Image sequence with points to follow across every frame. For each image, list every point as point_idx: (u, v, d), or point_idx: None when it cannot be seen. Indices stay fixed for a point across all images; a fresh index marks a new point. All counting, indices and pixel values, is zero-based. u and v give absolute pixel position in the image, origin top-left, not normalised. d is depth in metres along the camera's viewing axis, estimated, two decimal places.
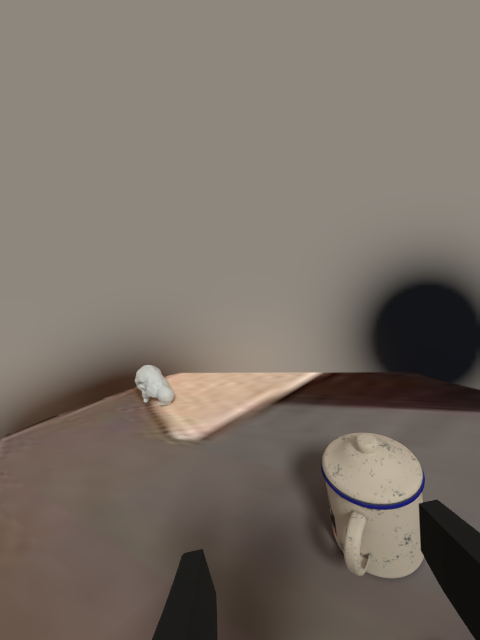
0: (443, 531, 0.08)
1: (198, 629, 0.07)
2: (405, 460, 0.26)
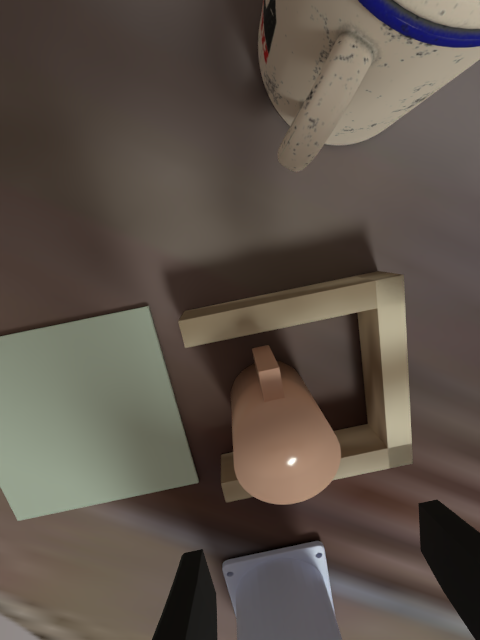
0: (443, 531, 0.08)
1: (198, 629, 0.07)
2: None
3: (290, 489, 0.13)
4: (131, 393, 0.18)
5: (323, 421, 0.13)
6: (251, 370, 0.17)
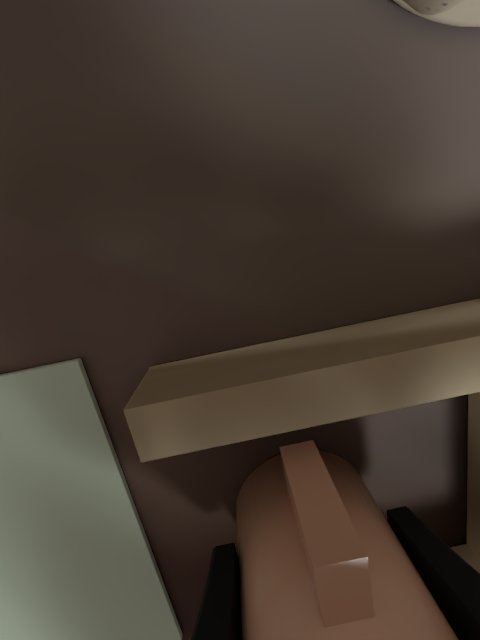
0: (407, 539, 0.08)
1: (236, 621, 0.07)
2: None
3: None
4: (56, 511, 0.10)
5: None
6: (275, 475, 0.09)
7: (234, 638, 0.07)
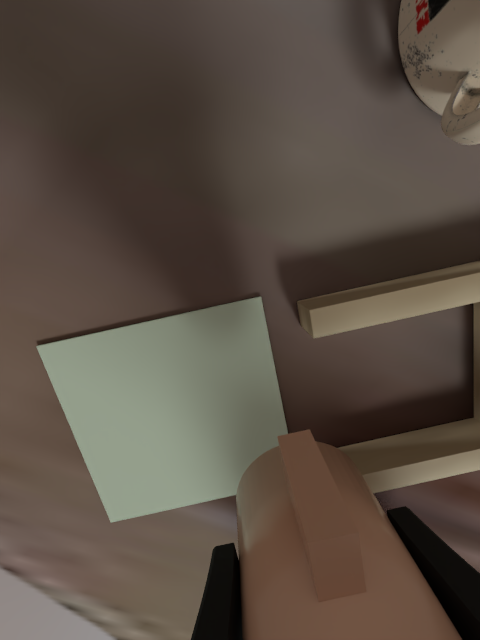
0: (407, 539, 0.08)
1: (236, 621, 0.07)
2: None
3: None
4: (236, 388, 0.17)
5: None
6: (273, 465, 0.10)
7: (234, 638, 0.07)
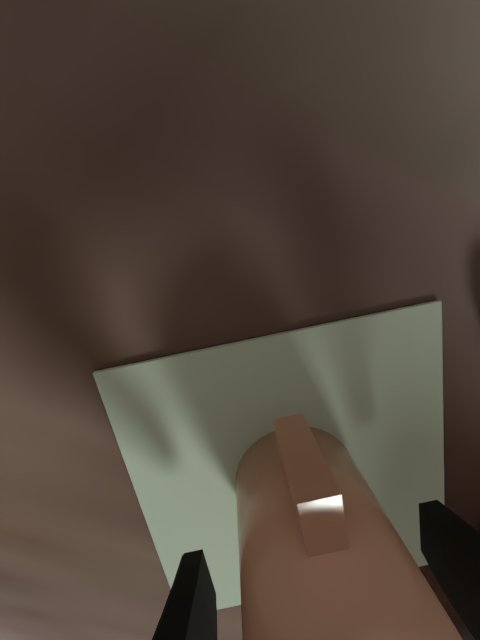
0: (443, 531, 0.08)
1: (198, 629, 0.07)
2: None
3: None
4: (382, 436, 0.12)
5: (444, 623, 0.06)
6: (270, 447, 0.11)
7: None
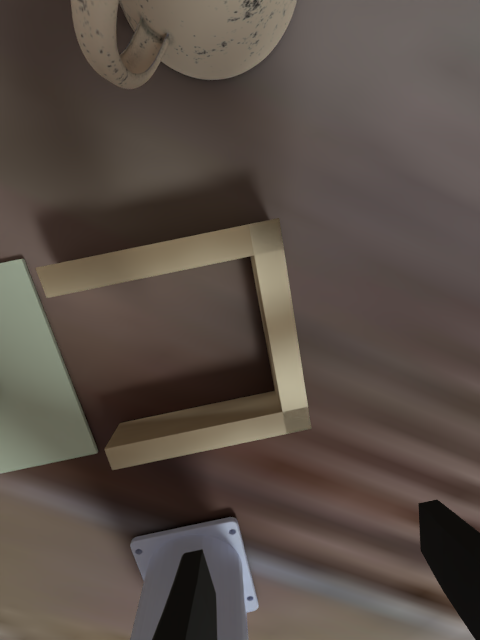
0: (443, 531, 0.08)
1: (198, 629, 0.07)
2: None
3: None
4: (13, 355, 0.17)
5: None
6: None
7: None
